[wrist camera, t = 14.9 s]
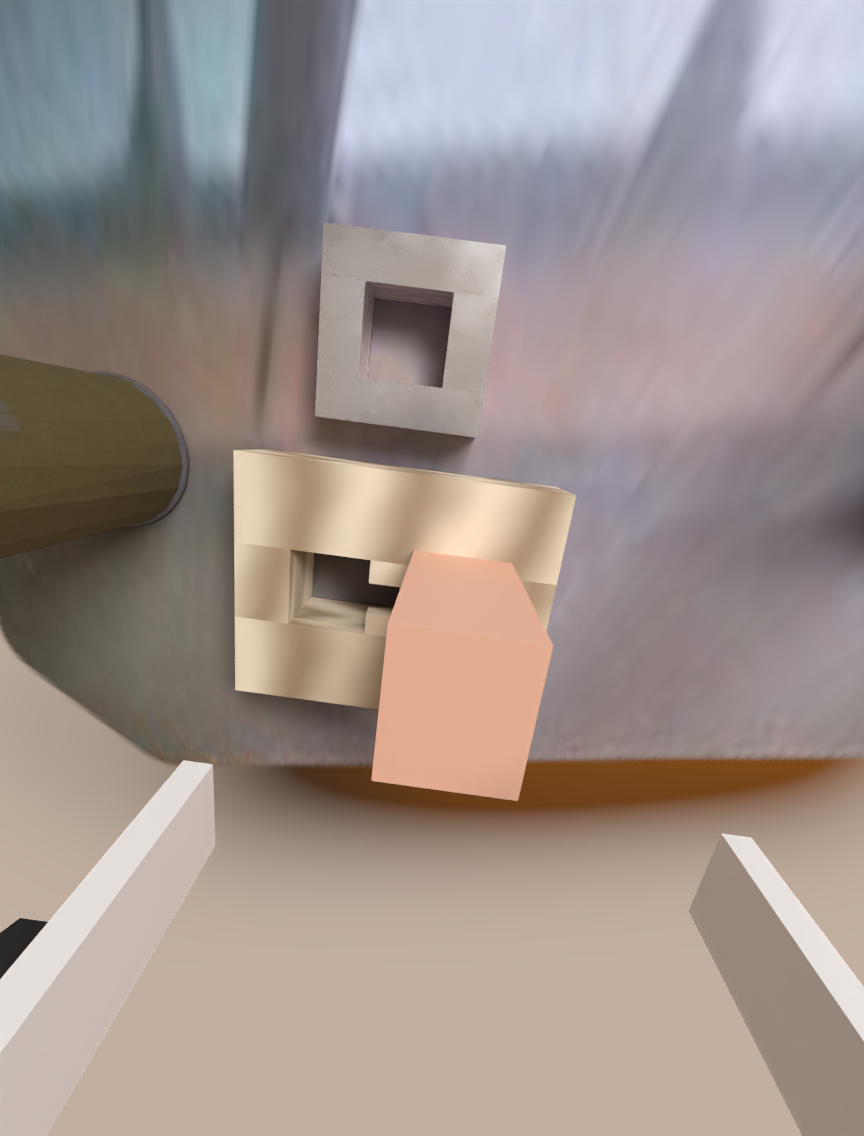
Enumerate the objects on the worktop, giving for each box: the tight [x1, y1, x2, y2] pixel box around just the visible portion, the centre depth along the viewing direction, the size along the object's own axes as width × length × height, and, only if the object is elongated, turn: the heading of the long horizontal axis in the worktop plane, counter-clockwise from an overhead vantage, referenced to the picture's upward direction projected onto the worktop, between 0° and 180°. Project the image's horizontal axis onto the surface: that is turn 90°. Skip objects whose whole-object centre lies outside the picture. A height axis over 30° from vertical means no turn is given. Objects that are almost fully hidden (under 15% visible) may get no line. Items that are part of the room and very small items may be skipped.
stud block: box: [372, 550, 553, 801], centre depth 23 cm, size 6×7×14 cm
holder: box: [315, 223, 506, 438], centre depth 26 cm, size 10×10×3 cm
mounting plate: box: [234, 449, 576, 710], centre depth 29 cm, size 20×16×5 cm
